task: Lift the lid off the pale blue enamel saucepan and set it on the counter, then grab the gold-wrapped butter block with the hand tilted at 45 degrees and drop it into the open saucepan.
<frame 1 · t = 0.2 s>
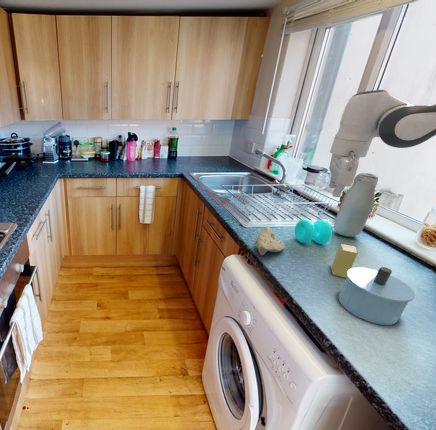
hand: (333, 191, 92), 29 cm above the worktop, tool pointing down, fingers open, 8 cm apart
butter: (338, 272, 100), on the worktop
pot: (366, 307, 85), on the worktop
grey bottle: (344, 235, 126), on the worktop
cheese: (266, 254, 110), on the worktop
pot lid: (378, 284, 81), point 8 cm above the worktop, touching pot
donuts: (308, 242, 120), on the worktop
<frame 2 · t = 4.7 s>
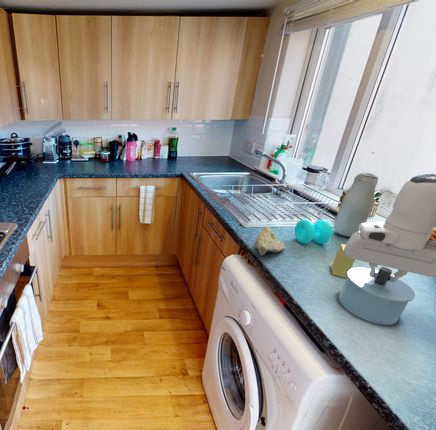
hand: (381, 278, 80), 11 cm above the worktop, tool pointing down, fingers closed on pot lid, 2 cm apart
pot lid: (378, 284, 81), point 9 cm above the worktop, touching gripper, pot
everything else where it was.
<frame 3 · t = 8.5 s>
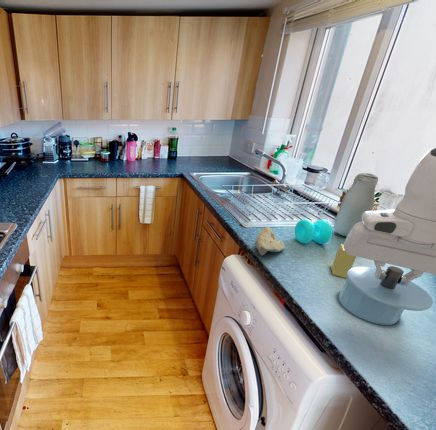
hand: (389, 280, 64), 20 cm above the worktop, tool pointing down, fingers closed on pot lid, 2 cm apart
pot lid: (386, 287, 65), point 18 cm above the worktop, touching gripper
everything else where it was.
when the fingers open (2 cm above the worktop, at t = 12.4 s): pot lid stays where it is, point 1 cm above the worktop.
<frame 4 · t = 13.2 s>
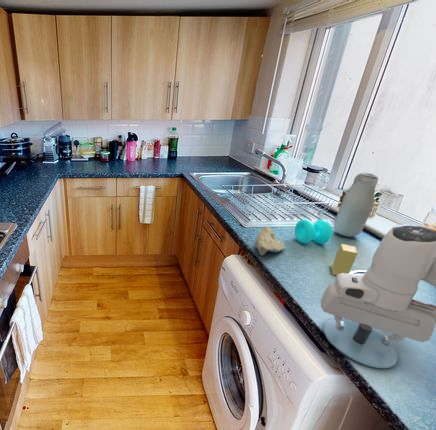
hand: (361, 336, 71), 3 cm above the worktop, tool pointing down, fingers open, 8 cm apart
pot lid: (357, 342, 72), point 1 cm above the worktop
everything else where it was.
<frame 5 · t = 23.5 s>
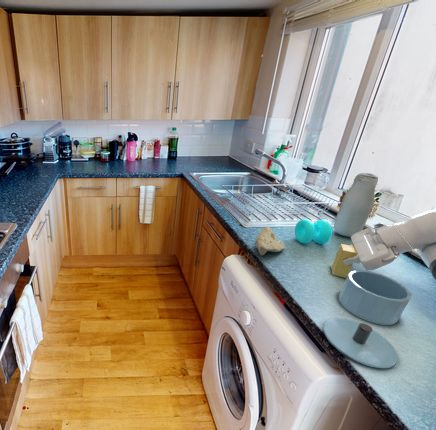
hand: (342, 257, 98), 6 cm above the worktop, tool tilted 45°, fingers closed on butter, 5 cm apart
butter: (338, 272, 100), on the worktop, touching gripper
everything else where it was.
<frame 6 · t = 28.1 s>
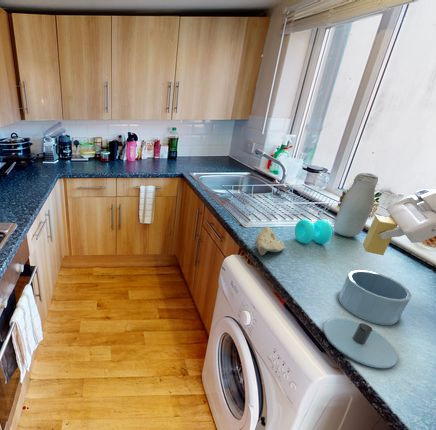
hand: (377, 231, 83), 21 cm above the worktop, tool tilted 45°, fingers closed on butter, 5 cm apart
butter: (372, 249, 85), point 15 cm above the worktop, touching gripper
everything else where it was.
when the fingers open (11 cm above the worktop, at t = 32.6 s): butter drops 5 cm, resting on pot.
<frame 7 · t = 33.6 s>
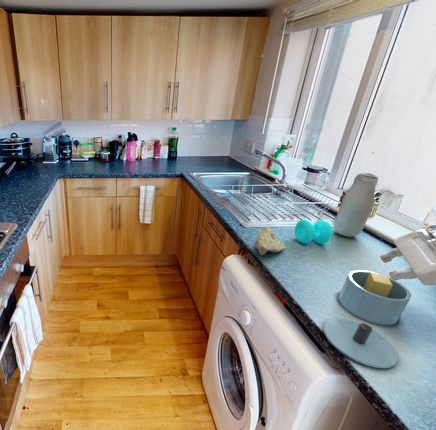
hand: (385, 267, 79), 14 cm above the worktop, tool tilted 45°, fingers open, 8 cm apart
butter: (367, 306, 84), point 1 cm above the worktop, touching pot
everything else where it was.
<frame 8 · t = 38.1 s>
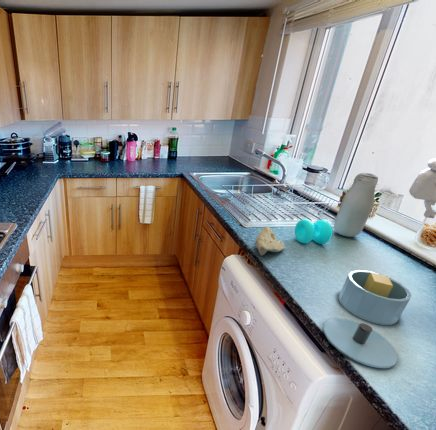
nothing on the worktop moved.
at the end: butter inside the target area in the pot (0.0 cm from its centre), point 0.5 cm above the pot's base; pot lid point 0.6 cm above the worktop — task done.
